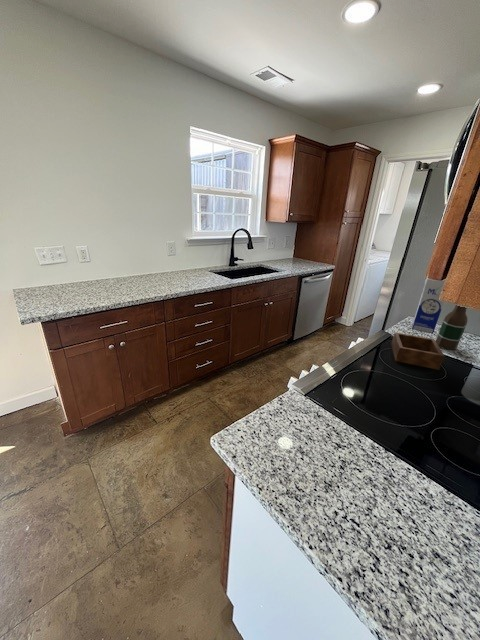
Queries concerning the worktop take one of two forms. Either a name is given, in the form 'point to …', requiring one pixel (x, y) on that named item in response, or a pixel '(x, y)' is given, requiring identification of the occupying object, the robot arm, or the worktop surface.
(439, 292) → the robot arm
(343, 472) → the worktop surface
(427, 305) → the milk carton
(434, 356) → the oak frame
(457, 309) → the beer bottle
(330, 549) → the worktop surface
